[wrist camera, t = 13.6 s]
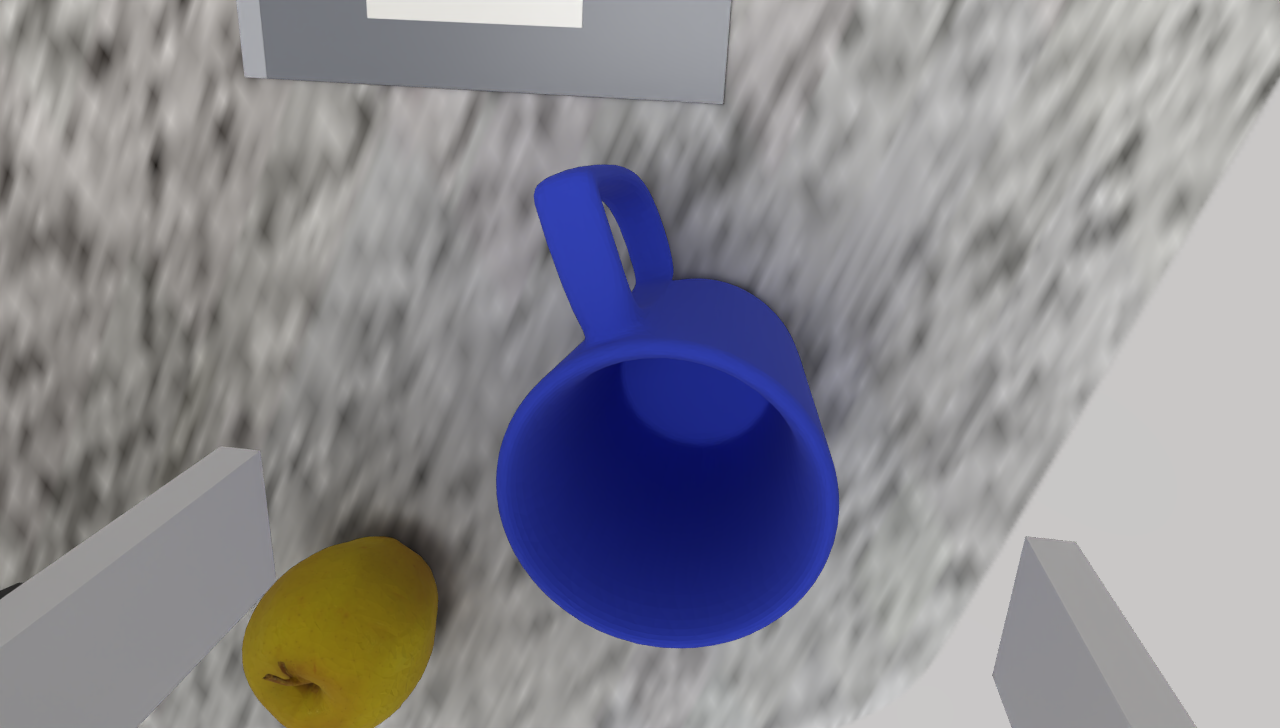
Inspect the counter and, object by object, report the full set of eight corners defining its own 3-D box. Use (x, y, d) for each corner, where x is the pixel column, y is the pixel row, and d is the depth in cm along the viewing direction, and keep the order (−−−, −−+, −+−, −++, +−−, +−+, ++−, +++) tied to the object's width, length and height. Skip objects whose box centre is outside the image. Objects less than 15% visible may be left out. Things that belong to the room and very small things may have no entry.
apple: (355, 474, 33) (231, 594, 25) (494, 559, 33) (411, 702, 25) (296, 584, 35) (166, 724, 27) (426, 663, 35) (332, 822, 28)
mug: (749, 99, 26) (732, 116, 16) (846, 443, 29) (877, 620, 20) (511, 180, 28) (376, 236, 18) (626, 493, 31) (561, 675, 22)
